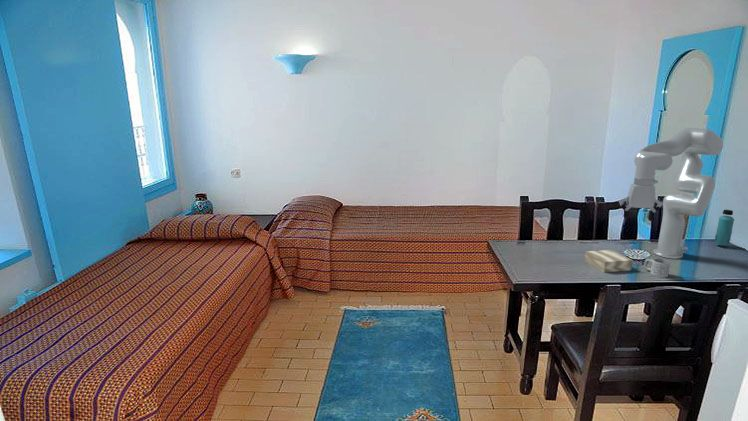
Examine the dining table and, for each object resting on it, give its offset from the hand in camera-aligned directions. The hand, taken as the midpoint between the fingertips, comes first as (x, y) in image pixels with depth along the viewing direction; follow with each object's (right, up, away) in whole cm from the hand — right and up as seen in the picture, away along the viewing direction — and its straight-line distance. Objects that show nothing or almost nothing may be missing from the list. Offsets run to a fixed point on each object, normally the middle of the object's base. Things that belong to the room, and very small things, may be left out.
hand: (637, 219), depth 195 cm
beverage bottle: (+66, -15, +36) cm, 77 cm away
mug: (+8, -25, +1) cm, 26 cm away
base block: (-9, -22, +10) cm, 25 cm away
